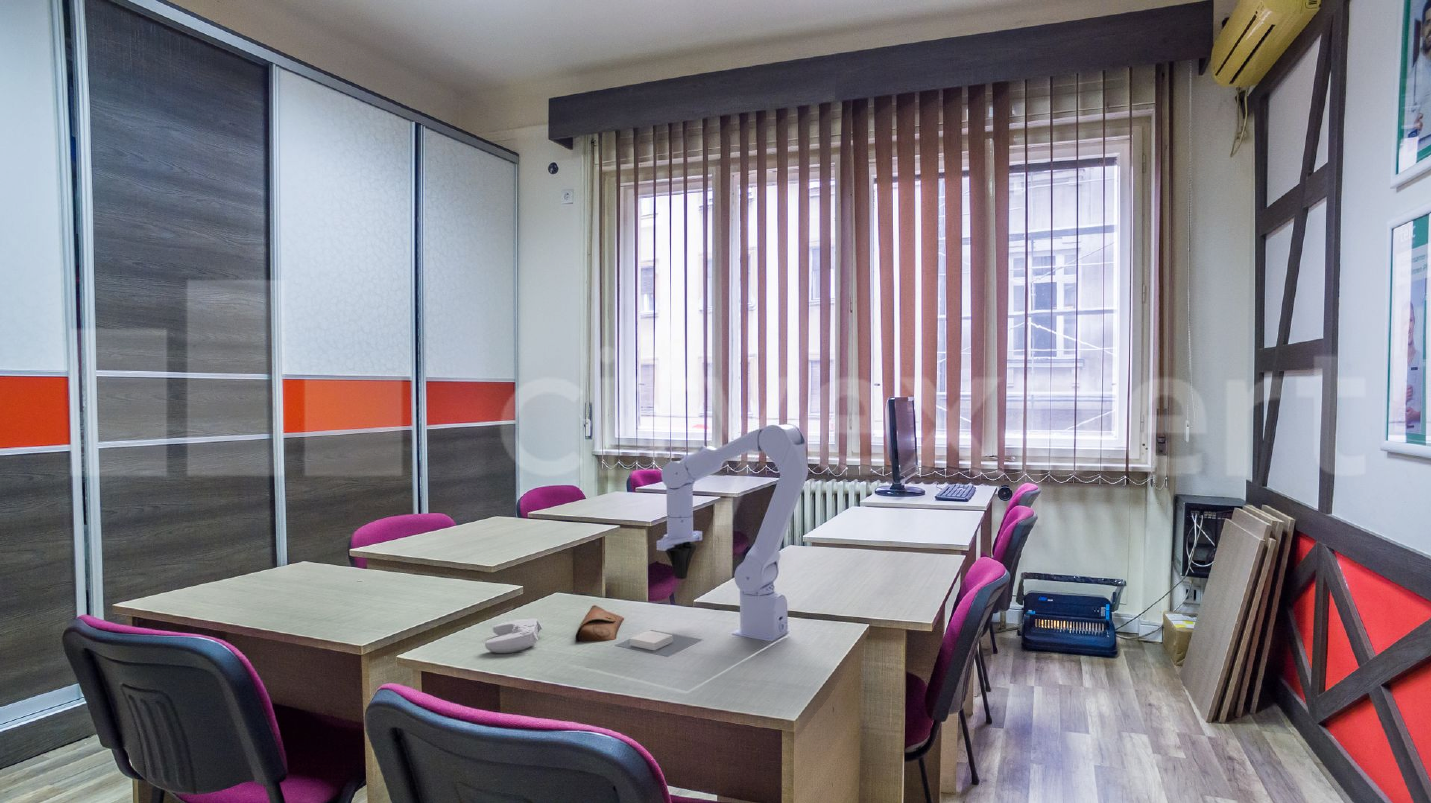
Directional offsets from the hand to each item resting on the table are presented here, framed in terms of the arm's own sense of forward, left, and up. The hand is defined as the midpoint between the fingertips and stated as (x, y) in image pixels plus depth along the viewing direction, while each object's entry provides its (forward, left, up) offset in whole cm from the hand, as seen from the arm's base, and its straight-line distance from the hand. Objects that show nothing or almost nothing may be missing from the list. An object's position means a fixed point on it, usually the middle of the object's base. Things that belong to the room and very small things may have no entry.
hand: (680, 578), depth 167 cm
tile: (-4, +13, -9) cm, 16 cm away
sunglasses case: (+12, +13, -11) cm, 20 cm away
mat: (-5, +14, -10) cm, 18 cm away
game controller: (+21, +28, -10) cm, 37 cm away
